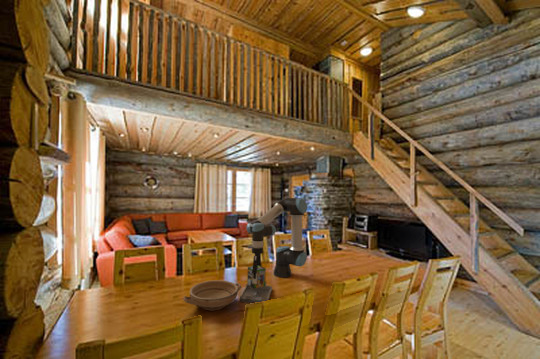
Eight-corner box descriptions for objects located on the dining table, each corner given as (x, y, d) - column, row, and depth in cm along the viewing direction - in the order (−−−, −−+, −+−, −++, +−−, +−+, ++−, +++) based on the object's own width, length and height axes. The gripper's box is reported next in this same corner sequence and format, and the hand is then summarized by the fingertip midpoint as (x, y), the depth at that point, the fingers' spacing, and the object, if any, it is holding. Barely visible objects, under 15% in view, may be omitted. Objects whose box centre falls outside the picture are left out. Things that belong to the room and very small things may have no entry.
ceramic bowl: (192, 326, 125) (193, 306, 125) (174, 305, 147) (175, 288, 147) (252, 306, 148) (252, 289, 149) (228, 290, 170) (229, 275, 171)
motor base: (247, 287, 176) (247, 275, 177) (272, 289, 174) (272, 277, 174) (239, 301, 154) (239, 288, 154) (267, 304, 151) (268, 290, 152)
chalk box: (265, 286, 160) (266, 263, 161) (253, 289, 155) (254, 265, 156) (258, 281, 168) (259, 259, 168) (246, 284, 163) (247, 261, 164)
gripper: (255, 242, 175) (254, 273, 174) (248, 250, 151) (246, 286, 150) (265, 243, 174) (264, 274, 173) (260, 251, 150) (258, 287, 149)
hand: (256, 279), depth 162 cm, fingers closed on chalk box, 12 cm apart
